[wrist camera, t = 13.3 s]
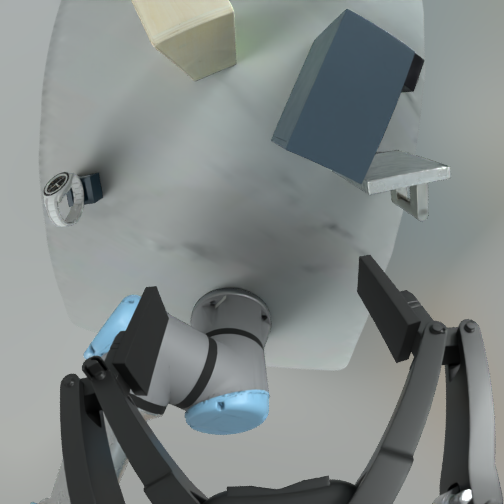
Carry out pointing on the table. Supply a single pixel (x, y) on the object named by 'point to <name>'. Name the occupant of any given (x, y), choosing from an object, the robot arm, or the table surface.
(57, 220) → the watch
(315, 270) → the table surface
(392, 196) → the microwave door
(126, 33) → the table surface
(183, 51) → the toy refrigerator
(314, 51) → the microwave
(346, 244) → the table surface
